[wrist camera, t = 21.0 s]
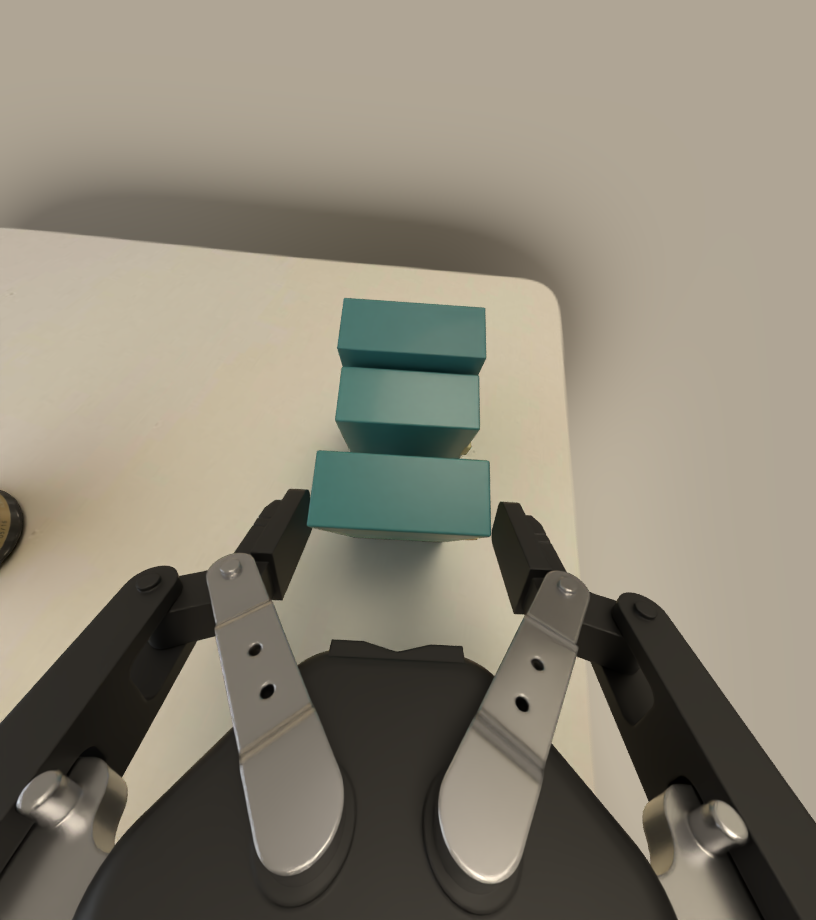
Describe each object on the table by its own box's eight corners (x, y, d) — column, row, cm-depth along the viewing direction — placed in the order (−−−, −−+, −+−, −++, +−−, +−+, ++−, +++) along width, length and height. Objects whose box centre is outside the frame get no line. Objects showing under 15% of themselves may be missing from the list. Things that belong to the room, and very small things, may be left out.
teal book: (446, 503, 21) (494, 459, 11) (445, 542, 21) (496, 538, 10) (356, 498, 21) (316, 448, 11) (352, 537, 20) (305, 527, 10)
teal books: (448, 411, 23) (489, 307, 13) (447, 481, 22) (492, 423, 12) (366, 406, 23) (343, 296, 13) (360, 476, 22) (327, 413, 11)
